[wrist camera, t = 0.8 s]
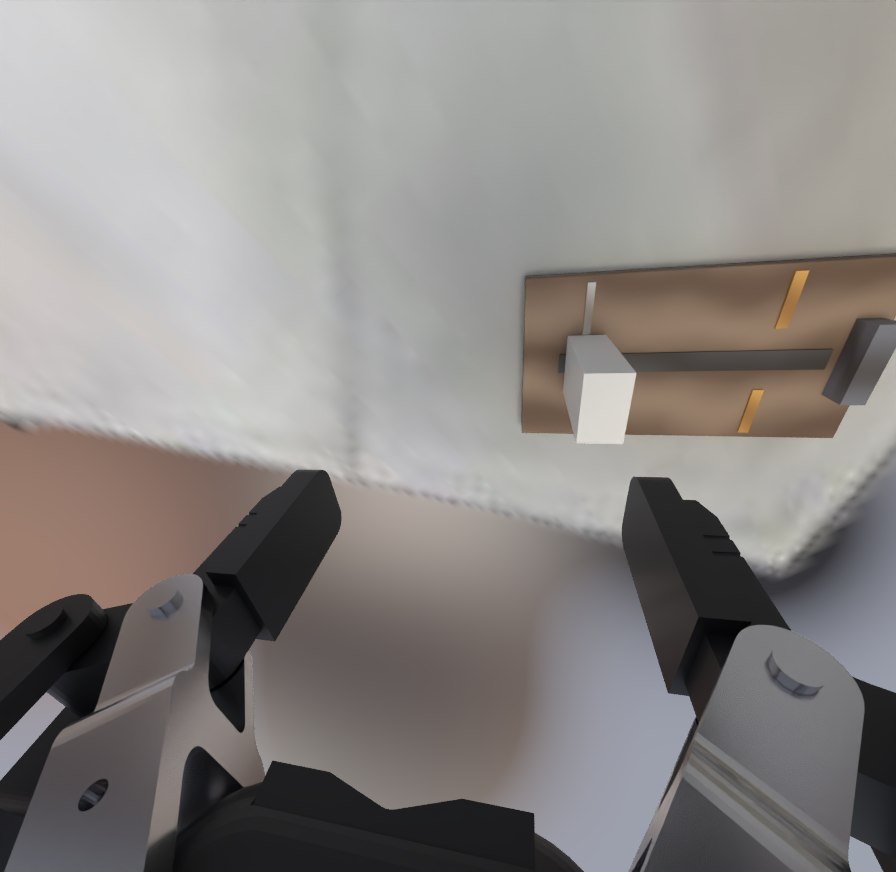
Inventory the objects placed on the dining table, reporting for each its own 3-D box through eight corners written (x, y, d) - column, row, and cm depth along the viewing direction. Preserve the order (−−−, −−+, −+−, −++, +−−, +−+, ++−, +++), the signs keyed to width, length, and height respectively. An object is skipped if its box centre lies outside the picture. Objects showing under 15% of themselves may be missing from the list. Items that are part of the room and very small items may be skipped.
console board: (525, 276, 31) (526, 282, 27) (899, 253, 26) (957, 257, 22) (521, 423, 37) (521, 443, 34) (816, 426, 33) (851, 450, 29)
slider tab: (567, 335, 30) (584, 373, 22) (606, 334, 29) (636, 372, 22) (562, 391, 32) (576, 443, 25) (598, 391, 32) (623, 444, 24)
